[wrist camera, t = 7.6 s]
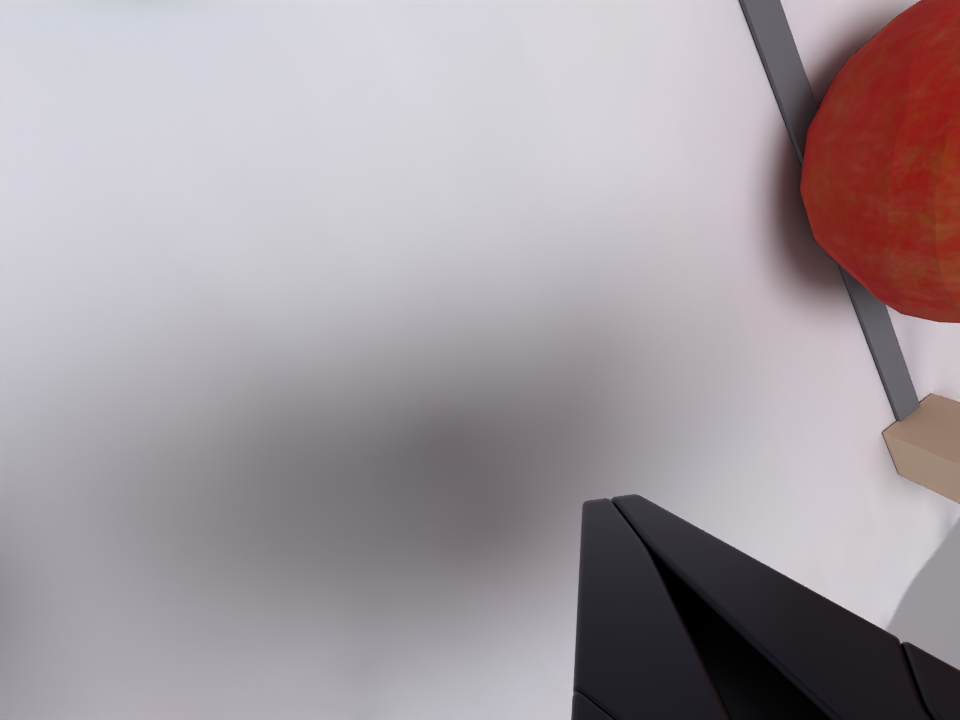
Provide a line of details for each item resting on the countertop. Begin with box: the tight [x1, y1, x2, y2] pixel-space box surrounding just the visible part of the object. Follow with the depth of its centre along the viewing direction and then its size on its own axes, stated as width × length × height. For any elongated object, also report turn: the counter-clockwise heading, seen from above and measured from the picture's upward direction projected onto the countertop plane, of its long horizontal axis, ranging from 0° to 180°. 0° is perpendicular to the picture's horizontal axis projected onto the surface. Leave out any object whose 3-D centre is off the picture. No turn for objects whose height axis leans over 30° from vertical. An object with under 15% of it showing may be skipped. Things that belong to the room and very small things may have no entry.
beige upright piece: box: [740, 0, 960, 504], centre depth 17 cm, size 3×28×7 cm, turn 36°
